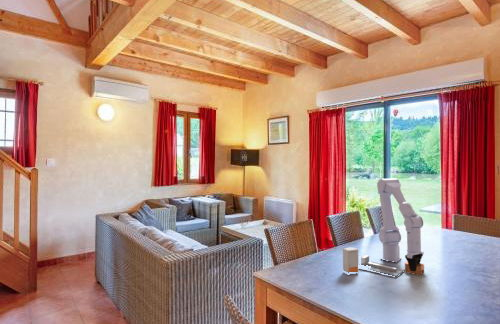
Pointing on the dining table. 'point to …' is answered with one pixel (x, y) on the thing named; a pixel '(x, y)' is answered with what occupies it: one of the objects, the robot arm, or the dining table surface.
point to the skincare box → (350, 259)
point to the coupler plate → (381, 267)
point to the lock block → (418, 268)
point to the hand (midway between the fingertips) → (414, 269)
